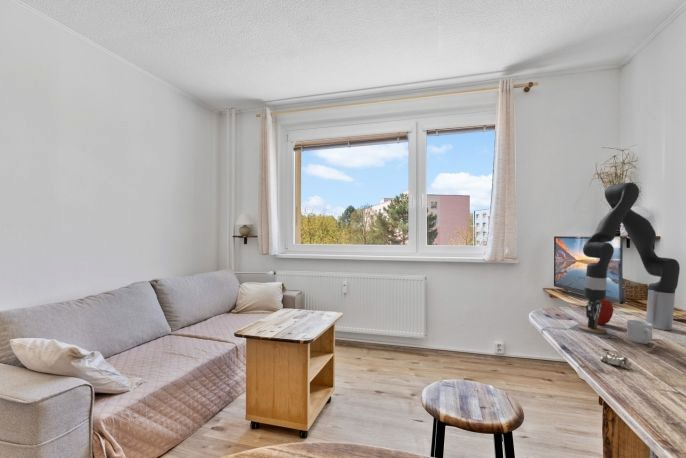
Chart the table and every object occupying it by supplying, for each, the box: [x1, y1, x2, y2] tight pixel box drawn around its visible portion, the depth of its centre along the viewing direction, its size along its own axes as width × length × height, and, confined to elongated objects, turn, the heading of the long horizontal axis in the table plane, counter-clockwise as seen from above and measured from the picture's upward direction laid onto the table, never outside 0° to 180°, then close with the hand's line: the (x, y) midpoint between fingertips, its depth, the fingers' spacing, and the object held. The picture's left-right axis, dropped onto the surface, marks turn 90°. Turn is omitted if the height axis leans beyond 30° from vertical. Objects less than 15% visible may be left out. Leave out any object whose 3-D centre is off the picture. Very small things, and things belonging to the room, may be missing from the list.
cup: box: [626, 319, 654, 345], centre depth 134 cm, size 11×8×8 cm
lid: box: [578, 317, 608, 334], centre depth 146 cm, size 10×10×6 cm
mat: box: [567, 323, 618, 340], centre depth 146 cm, size 15×14×1 cm
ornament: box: [600, 351, 632, 370], centre depth 111 cm, size 8×7×4 cm
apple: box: [590, 298, 615, 326], centre depth 159 cm, size 10×10×14 cm
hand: (592, 326), depth 146 cm, fingers closed on lid, 3 cm apart
